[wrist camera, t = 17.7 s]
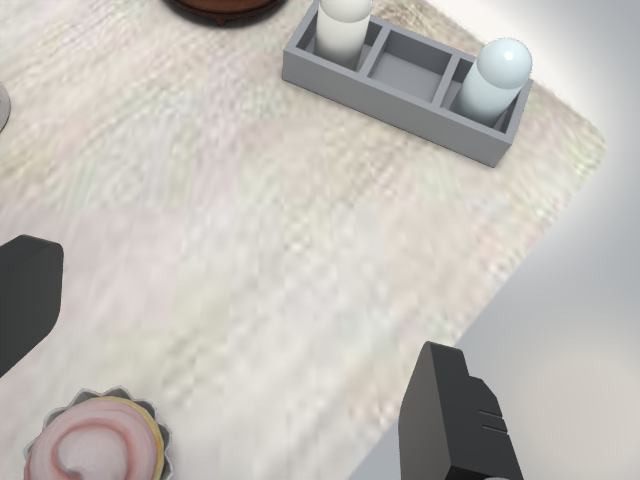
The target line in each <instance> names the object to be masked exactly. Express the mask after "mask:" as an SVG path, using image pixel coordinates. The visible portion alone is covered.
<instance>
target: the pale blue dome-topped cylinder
mask: <svg viewBox="0 0 640 480" xmlns="http://www.w3.org/2000/svg"><path fill="white" fill-rule="evenodd" d="M531 70H532V57H531V54H530V52H529V50H528V48H527V47H526V46H525V45H524V44H523V43H522V42H520V41H519V40H516V39H513V38H499V39H496V40H494V41H492V42H490V43H488V44H487V45H486V46H485V47H484V48H483V49H482V50H481V51H480V53H479V54H478V56H477V58H476V60H475V62H474V63H473V65H472V67H471V69H470V71H469V72H468V74H467V76H466V78H465V80H464V82H463V83H462V85H461V87H460V89H459V91H458V92H457V94H456V96H455V98H454V100H453V101H452V103H451V105H450V108H449V111H451V112H453V113H456V114H458V115H461V116H463V117H465V118H468V119H470V120H473V121H475V122H477V123H480V124H482V125H485V126H487V127H489V128H493V127H494V126H495V124H496V123H497V121H498V120H499V119H500V117H501V116H502V115H503V113H504V112H505V110H506V109H507V108H508V106H509V105H510V103H511V102H512V101H513V99H514V98H515V97H516V95H517V94H518V92H519V91H520V90H521V88H522V87H523V85H524V84H525V83H526V81H527V80H528V78H529V76H530V73H531Z"/></svg>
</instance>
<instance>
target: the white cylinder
mask: <svg viewBox="0 0 640 480" xmlns="http://www.w3.org/2000/svg"><path fill="white" fill-rule="evenodd" d="M372 5H373V0H320V1H319V9H318V18H317V26H316V34H315V43H314V51H313V55H316V56H318V57H321V58H323V59H325V60H328V61H330V62H333V63H335V64H337V65H340V66H342V67H345V68H347V69H349V70H352V71H354V72H355V71H356V69H357V68H358V65H359V61H360V57H361V53H362V49H363V44H364V40H365V36H366V32H367V27H368V23H369V19H370V15H371V10H372Z"/></svg>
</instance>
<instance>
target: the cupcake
mask: <svg viewBox="0 0 640 480" xmlns="http://www.w3.org/2000/svg"><path fill="white" fill-rule="evenodd" d="M171 441H172V432H171V430H170V429H169V428H168V426H167V425H165V424H163V423H161V422H159V421H158V420H157V408H156V407H155V405H154V404H153V402H151V401H149V400H147V399H133V397H132V396H131V394H130V393H129V392H128V390H127V389H125V388H124V387H123V386H121V385H120V386H116V387H113V388H111V389H109V390H108V391H106V392H104V393H103V394H100V393H98V392H95V391H92V390H90V389H84V388H82V389H81V390H80V391H79V392H78V393H77V394H76V396H75V397H74V399H73V400H72V402H71V403H70V405H69V406H67V407H61V408H56V409H54V410H52V411H51V412H49V413H48V414H47V416H46V417H45V419H44V422H43V430H42V433H41V434H40V435H39V436H38V437H37V438H35V439H34V440H33V441H31V442H30V443H29V444H27V446H26V447H25V448H24V449H23V452H24V457H25V459H26V464H25V467H24V480H169V479H170V478H171V476H172V475H173V473H174V471H173V465H172V463H171V461H170V459H169V457H168V455H167V451H168V448H169V446H170V444H171Z"/></svg>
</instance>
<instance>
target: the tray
mask: <svg viewBox="0 0 640 480" xmlns="http://www.w3.org/2000/svg"><path fill="white" fill-rule="evenodd" d="M319 1H320V0H314V1H313V3H312V5H311V6H310V8H309V9H308V11H307V13H306V14H305V16H304V18H303V19H302V21H301V22H300V24H299V26H298V27H297V29H296V31H295V32H294V34H293V35H292V37H291V39H290V40H289V42H288V44H287V45H286V47H285V48H284V53H283V75H282V79H284V80H286V81H288V82H291V83H293V84H296V85H298V86H300V87H303V88H305V89H307V90H310V91H312V92H315V93H317V94H319V95H322V96H324V97H327V98H329V99H331V100H334V101H336V102H338V103H341V104H343V105H346V106H348V107H350V108H353V109H355V110H357V111H360V112H362V113H365V114H367V115H369V116H372V117H374V118H377V119H379V120H381V121H384V122H386V123H388V124H391V125H393V126H396V127H398V128H400V129H403V130H405V131H407V132H410V133H412V134H415V135H417V136H419V137H422V138H424V139H427V140H429V141H431V142H434V143H436V144H438V145H441V146H443V147H446V148H448V149H450V150H453V151H455V152H457V153H460V154H462V155H465V156H467V157H469V158H472V159H474V160H477V161H479V162H481V163H484V164H486V165H488V166H491V167H493V168H494V167H495V165H496V164H497V163H498V162H499V160H500V159H501V158H502V156H503V155H504V154H505V153H506V151H507V150H508V149H509V147H510V146H511V145H512V142H513V139H514V136H515V133H516V130H517V128H518V125H519V122H520V119H521V116H522V113H523V110H524V107H525V104H526V101H527V98H528V95H529V92H530V89H531V86H532V83H533V80H531V79H529V78H528V80H527V81H526V83H525V84H524V85H523V87H522V88H521V90H520V91H519V92H518V94H517V95H516V97H515V98H514V99H513V101H512V102H511V103H510V105H509V106H508V108H507V109H506V110H505V112H504V113H503V115H502V116H501V117H500V119H499V120H498V121H497V123H496V124H495V126H494V127H493V128H489V127H487V126H485V125H482V124H480V123H477V122H475V121H473V120H470V119H468V118H465V117H463V116H461V115H458V114H456V113H453V112H451V111H449V108H450V105H451V103H452V101H453V100H454V98H455V96H456V94H457V92H458V91H459V89H460V87H461V85H462V83H463V82H464V80H465V78H466V76H467V74H468V72H469V71H470V69H471V67H472V65H473V63H474V62H475V60H476V58H477V57H474V56H472V55H469V54H467V53H465V52H462V51H460V50H457V49H455V48H452V47H450V46H447V45H445V44H442V43H440V42H437V41H435V40H432V39H430V38H427V37H425V36H423V35H420V34H418V33H415V32H413V31H410V30H408V29H405V28H403V27H400V26H398V25H395V24H393V23H390V22H388V21H385V20H383V19H381V18H378V17H376V16H373V15H370V19H369V23H368V27H367V32H366V36H365V40H364V44H363V49H362V53H361V57H360V61H359V65H358V68H357V69H356V71H355V72H354V71H352V70H349V69H347V68H345V67H342V66H340V65H337V64H335V63H333V62H330V61H328V60H325V59H323V58H321V57H318V56H316V55H313V51H314V43H315V34H316V26H317V18H318V9H319Z"/></svg>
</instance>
